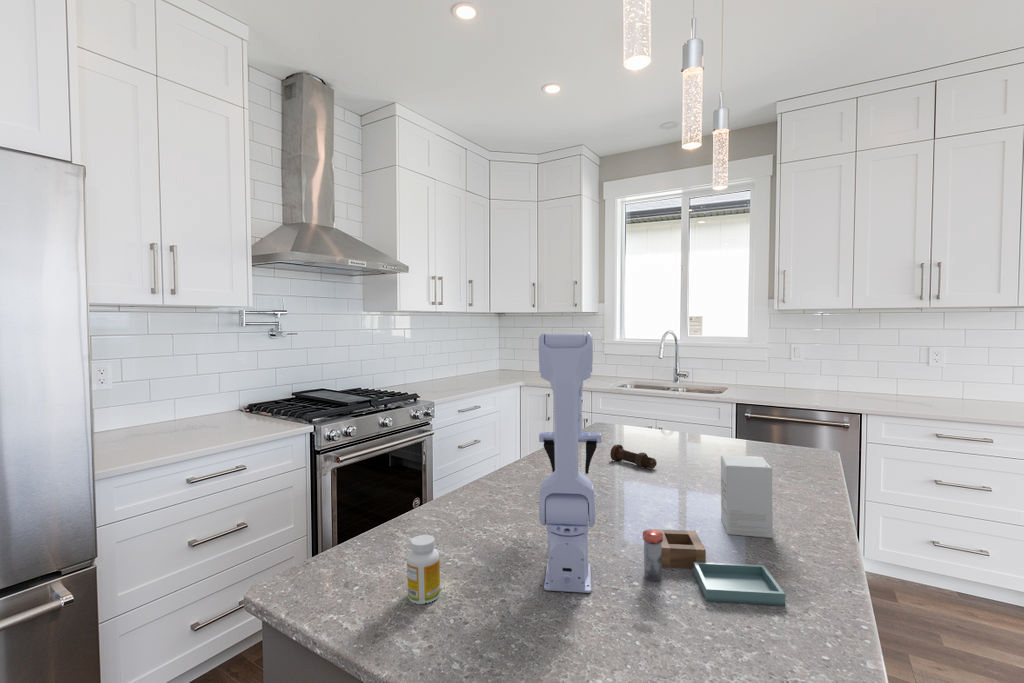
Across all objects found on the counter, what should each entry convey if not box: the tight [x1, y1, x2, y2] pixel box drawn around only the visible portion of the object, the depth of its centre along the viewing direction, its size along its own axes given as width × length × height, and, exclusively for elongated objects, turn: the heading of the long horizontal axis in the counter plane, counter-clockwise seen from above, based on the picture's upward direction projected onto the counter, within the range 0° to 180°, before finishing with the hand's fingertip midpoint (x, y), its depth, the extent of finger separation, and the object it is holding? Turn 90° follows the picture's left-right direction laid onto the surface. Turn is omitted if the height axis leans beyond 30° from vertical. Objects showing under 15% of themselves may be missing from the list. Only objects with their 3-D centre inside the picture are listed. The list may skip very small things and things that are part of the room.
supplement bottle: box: [406, 534, 441, 605], centre depth 81 cm, size 5×5×10 cm
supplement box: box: [720, 454, 774, 539], centre depth 105 cm, size 9×9×15 cm
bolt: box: [609, 444, 657, 470], centre depth 153 cm, size 6×5×15 cm
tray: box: [692, 561, 786, 607], centre depth 82 cm, size 9×12×2 cm
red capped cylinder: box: [642, 529, 663, 583], centre depth 86 cm, size 3×3×8 cm
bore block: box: [653, 528, 707, 569], centre depth 93 cm, size 8×8×4 cm
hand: (570, 472), depth 114 cm, fingers open, 7 cm apart
